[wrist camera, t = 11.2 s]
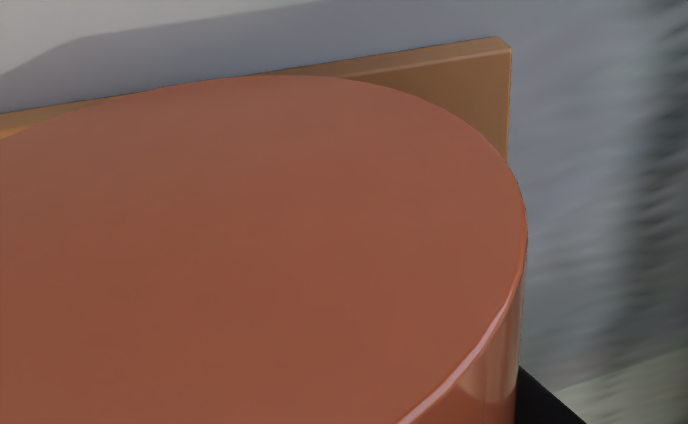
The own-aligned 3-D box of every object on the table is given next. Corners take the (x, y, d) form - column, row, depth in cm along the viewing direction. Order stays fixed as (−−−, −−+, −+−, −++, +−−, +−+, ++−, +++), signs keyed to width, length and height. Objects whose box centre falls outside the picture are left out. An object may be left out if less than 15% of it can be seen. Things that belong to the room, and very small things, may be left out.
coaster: (102, 482, 13) (96, 508, 12) (-105, 129, 8) (-128, 149, 8) (485, 409, 13) (495, 433, 13) (498, 33, 9) (514, 47, 8)
